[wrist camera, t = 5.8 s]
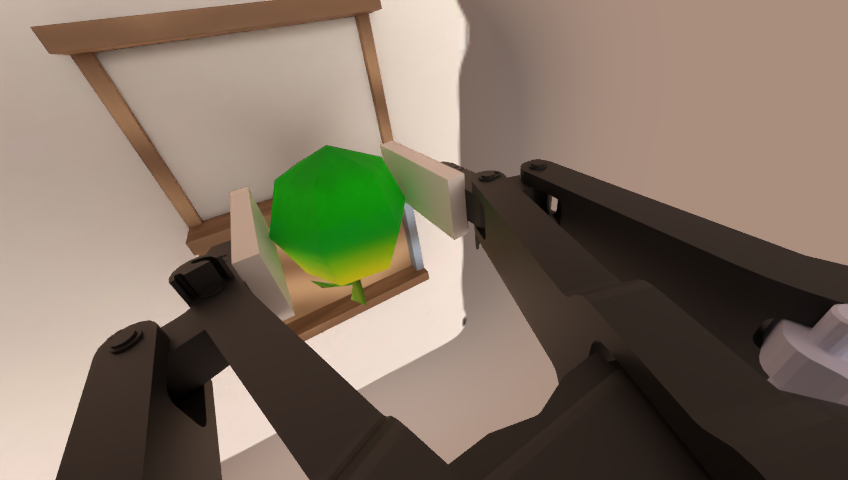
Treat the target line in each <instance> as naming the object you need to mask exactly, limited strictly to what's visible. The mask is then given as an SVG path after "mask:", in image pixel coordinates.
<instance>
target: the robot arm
mask: <svg viewBox="0 0 848 480" xmlns="http://www.w3.org/2000/svg"><path fill="white" fill-rule="evenodd" d="M380 147H381V151H382V156H383V160H384V162H385V164H386V166H387V167H388V169H389V171H390V172H391V174H392V176H393V178H394V179H395V181H396V183H397V184H398V186H399V188H400V190H401V191H402V193H403V195H404V196H405V198H406V200H405V202H406V203H407V204H408V205H410V206H411V207H412V208H414V209H415V210H416V211H418V212H419V213H420V214H421V215H423V216H424V217H425V218H427V219H428V220H429V221H431V222H432V223H433V224H435V225H436V226H437V227H438V228H440V229H441V230H442V231H444V232H445V233H446V234H448V235H449V236H450V237H451V238H453V239H454V240H455V239H457V238H459V237H461V236H464V235H466V234H468V233H469V227H468V221H470V222H471V223H473V224H474V228H475V241H476V249H479V244H480V243H481V245H482V247H483V248H484V250H485V252H486V253H487V255H488V257H489V258H490V260H491V261H492V263H493V265H494V267H495V268H496V270H497V271H498V273H499V275H500V276H501V278H502V280H503V281H504V283H505V285H506V287H507V288H508V290H509V292H510V293H511V295H512V297H513V298H514V300H515V301H516V303H517V305H518V306H519V308H520V310H521V312H522V313H523V315H524V317H525V318H526V320H527V321H528V323H529V325H530V326H531V328H532V330H533V332H534V333H535V335H536V337H537V338H538V340H539V341H540V343H541V345H542V347H543V348H544V350H545V352H546V353H547V355H548V357H549V358H550V360H551V361H552V363H553V365H554V367H555V370H556V373H557V377H558V382H559V385H558V386H557V388H556V389H555V391H554V393H553V394H552V396H551V397H550V399H549V400H548V402H547V404H546V405H545V407H544V408H543V410H542V411H541V412H540V413H539V414H538V415H537V416H535V417H532V418H529V419H527V420H524V421H521V422H519V423H516V424H513V425H511V426H508V427H505V428H503V429H500V430H497V431H495V432H492V433H489V434H488V435H486V436H485V437H484V438H482V439H481V440H480V441H478V442H477V443H476V444H475V445H473V446H472V447H471V448H469V449H468V450H467V451H466V452H464V453H463V454H462V455H460V456H459V457H458V458H456V459H455V460H454V461H453V462H451V463H450V464H447V463H446V462H445V461H444V460H442V459H441V458H440V457H439V456H438V455H437V454H436V453H435V452H434V451H432V450H431V449H430V448H429V447H428V446H427V445H426V444H425V443H424V442H423V441H421V440H420V439H419V438H418V437H417V436H416V435H415V434H414V433H413V432H412V431H410V430H409V429H408V428H407V427H406V426H405V425H403V424H402V423H401V422H400V421H399V420H397V419H396V418H394V417H392V416H388V417H386V416H384V415H383V414H382V413H380V412H379V411H378V410H377V409H376V408H375V407H374V406H373V405H372V404H370V403H369V402H368V401H367V400H366V399H365V398H364V397H363V396H362V395H361V394H360V393H359V392H358V391H357V390H356V389H354V388H353V387H352V386H351V385H350V384H349V383H348V382H347V381H346V380H345V379H344V378H343V377H342V376H341V375H340V374H338V373H337V372H336V371H335V370H334V369H333V368H332V367H331V366H330V365H329V364H328V363H327V362H326V361H325V360H323V359H322V358H321V357H320V356H319V355H318V354H317V353H316V352H315V351H314V350H313V349H312V348H311V347H310V346H309V345H307V344H306V343H305V342H304V341H303V340H302V339H301V338H300V337H299V336H298V335H297V334H296V333H295V332H294V331H292V330H291V329H290V328H289V327H288V326H287V325H286V324H285V323H284V322H283V321H284V320H286V319H288V318H290V317H293V316H295V313H294V309H293V306H292V302H291V299H290V295H289V291H288V288H287V284H286V280H285V277H284V273H283V269H282V266H281V262H280V258H279V255H278V251H277V247H276V244H275V242H274V241H272V240H271V239H270V237H269V231H270V228H269V226H268V224H267V222H266V221H265V219H264V217H263V215H262V213H261V211H260V209H259V207H258V205H257V203H256V202H255V200H254V198H253V196H252V194H251V192H250V190H249V188H248V187H244V188H241V189H238V190H235V191H232V192H230V217H231V240H229V241H226V242H223V243H221V244H218V245H215V246H212V247H211V248H210V250H209V251H208V252H207V254H206V255H203V256H199V257H197V258H195V259H192V260H190V261H188V262H186V263H185V264H183V265H181V266H180V267H179V268H178V269H176V270H175V271H174V272H173V273H172V274H171V276H170V277H169V283H170V284H171V285H172V287H173V288H174V289H175V290H176V291H177V292H178V294H179V295H180V296H181V297H182V298H183V299H184V301H185V302H186V303H187V304H188V305H189V307H190V309H189V310H188V311H186V312H185V313H184V314H182V315H181V316H179V317H178V318H176V319H174V320H173V321H171V322H169V323H168V324H166V325H164V326H163V327H161V328H160V327H159V326H158V325H157V324H156V323H155V322H153V321H150V320H149V321H142V322H138V323H135V324H133V325H130V326H128V327H126V328H124V329H122V330H119V331H118V332H116V333H115V334H114V335H112V336H111V337H109V338H108V339H107V340H106V341H105V342H104V343H103V344H102V345H101V346H100V347H99V348H98V350H97V352H96V353H95V355H94V357H93V360H92V363H91V367H90V370H89V373H88V376H87V380H86V383H85V386H84V389H83V393H82V396H81V399H80V402H79V405H78V409H77V412H76V415H75V418H74V422H73V425H72V428H71V431H70V435H69V438H68V441H67V444H66V447H65V451H64V454H63V457H62V460H61V464H60V467H59V470H58V473H57V477H56V480H222V475H221V465H220V455H219V445H218V435H217V425H216V415H215V406H214V396H213V386H212V381H211V378H213V377H214V376H215V375H217V374H218V373H219V372H221V371H222V370H224V369H225V368H226V367H228V366H229V365H230V366H231V367H232V369H233V370H234V372H235V373H236V375H237V376H238V377H239V379H240V380H241V382H242V383H243V385H244V386H245V388H246V389H247V390H248V392H249V393H250V395H251V396H252V398H253V399H254V401H255V402H256V403H257V405H258V406H259V408H260V409H261V411H262V412H263V413H264V415H265V416H266V418H267V419H268V421H269V422H270V424H271V425H272V426H273V428H274V429H275V431H276V432H277V434H278V435H279V437H280V438H281V439H282V441H283V442H284V444H285V445H286V446H287V448H288V449H289V451H290V452H291V454H292V455H293V456H294V458H295V460H296V461H297V462H298V464H299V465H300V467H301V468H302V470H303V471H304V472H305V474H306V475H307V477H308V478H309V479H310V480H848V266H847V265H842V264H838V263H834V262H830V261H826V260H821V259H817V258H813V257H809V256H805V255H802V254H799V253H797V252H794V251H791V250H789V249H785V248H783V247H781V246H778V245H775V244H772V243H770V242H767V241H764V240H762V239H759V238H756V237H753V236H750V235H748V234H745V233H743V232H740V231H737V230H734V229H732V228H729V227H726V226H724V225H721V224H718V223H715V222H713V221H710V220H707V219H705V218H702V217H699V216H697V215H694V214H691V213H688V212H686V211H683V210H680V209H678V208H675V207H672V206H669V205H667V204H664V203H661V202H658V201H656V200H653V199H650V198H648V197H645V196H642V195H639V194H637V193H634V192H631V191H629V190H626V189H623V188H621V187H618V186H615V185H612V184H610V183H607V182H604V181H602V180H599V179H596V178H594V177H591V176H588V175H585V174H583V173H580V172H577V171H575V170H572V169H569V168H566V167H564V166H561V165H558V164H556V163H553V162H550V161H546V160H540V159H536V160H531V161H528V162H525V163H523V164H522V165H521V169H520V175H518V176H513V177H509V178H507V177H506V176H505V175H504V174H503V173H501V172H499V171H482V172H479V173H474V172H472V171H469V170H467V169H464V168H463V167H459V166H458V165H456V164H453V163H449V162H438V161H436V160H434V159H432V158H429V157H427V156H425V155H423V154H421V153H418V152H416V151H414V150H412V149H410V148H407V147H405V146H403V145H401V144H399V143H396V142H394V141H390V142H387V143H384V144H381V145H380ZM552 196H553V197H555V198H557V199H558V204H557V211H556V212H555V211H552V210H551V202H552Z"/></svg>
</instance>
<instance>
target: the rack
mask: <svg viewBox="0 0 848 480" xmlns="http://www.w3.org/2000/svg"><path fill="white" fill-rule="evenodd" d="M380 9H382V8H381V2H380V0H272V1H263V2H254V3H245V4H236V5H227V6H218V7H208V8H199V9H190V10H181V11H172V12H163V13H154V14H145V15H135V16H126V17H117V18H108V19H99V20H90V21H81V22H72V23H63V24H53V25H44V26H35V27H31V29H32V30H33V32H34V33H35V34H36V36H37V37H38V39H39V40H40V41H41V43H42V44H43V46H44V47H45V48H46V50H47V51H48V52H49V54H62V55H70V56H71V57H72V59H73V60H74V62H75V63H76V64H77V66H78V67H79V69H80V70H81V72H82V73H83V75H84V76H85V78H86V79H87V80H88V82H89V83H90V85H91V86H92V88H93V89H94V91H95V92H96V94H97V95H98V96H99V98H100V99H101V101H102V102H103V104H104V105H105V107H106V108H107V110H108V111H109V112H110V114H111V115H112V117H113V118H114V120H115V121H116V123H117V124H118V126H119V127H120V128H121V130H122V131H123V133H124V134H125V136H126V137H127V139H128V140H129V142H130V143H131V144H132V146H133V147H134V149H135V150H136V152H137V153H138V155H139V156H140V157H141V159H142V160H143V162H144V163H145V165H146V166H147V168H148V169H149V171H150V172H151V173H152V175H153V176H154V178H155V179H156V181H157V182H158V184H159V185H160V187H161V188H162V189H163V191H164V192H165V194H166V195H167V197H168V198H169V200H170V201H171V203H172V204H173V205H174V207H175V208H176V210H177V211H178V213H179V214H180V216H181V217H182V219H183V220H184V221H185V223H186V224H187V226H188V227H189V232H188V236H187V241H186V244H187V246H188V247H189V248H190V250H191V251H192V253H193V254H194V255H197V254H199V255H200V256H203V255H206V254H207V252H208V251H209V250H210V248H211V247H212V246H215V245H218V244H221V243H223V242H226V241H229V240H231V217H230V213H227V214H224V215H221V216H218V217H215V218H212V219H209V220H206V221H202V220H201V218H200V217H199V215H198V214H197V212H196V210H195V209H194V207H193V206H192V204H191V203H190V201H189V200H188V198H187V197H186V195H185V193H184V192H183V190H182V189H181V187H180V186H179V184H178V183H177V181H176V180H175V178H174V176H173V175H172V173H171V172H170V170H169V169H168V167H167V166H166V164H165V163H164V161H163V160H162V158H161V156H160V155H159V153H158V152H157V150H156V149H155V147H154V146H153V144H152V143H151V141H150V139H149V138H148V136H147V135H146V133H145V132H144V130H143V129H142V127H141V126H140V124H139V123H138V121H137V119H136V118H135V116H134V115H133V113H132V112H131V110H130V109H129V107H128V106H127V104H126V102H125V101H124V99H123V98H122V96H121V95H120V93H119V92H118V90H117V89H116V87H115V85H114V84H113V82H112V81H111V79H110V78H109V76H108V75H107V73H106V72H105V70H104V69H103V67H102V65H101V64H100V62H99V61H98V59H97V58H96V56H95V55H94V53H93V52H101V51H108V50H115V49H122V48H129V47H137V46H144V45H151V44H158V43H165V42H172V41H180V40H187V39H194V38H201V37H208V36H216V35H223V34H230V33H237V32H244V31H251V30H259V29H266V28H273V27H280V26H287V25H294V24H302V23H309V22H316V21H323V20H330V19H338V18H345V17H352V16H355V19H356V23H357V28H358V32H359V37H360V42H361V46H362V51H363V55H364V60H365V64H366V69H367V74H368V78H369V83H370V87H371V92H372V97H373V101H374V106H375V110H376V115H377V120H378V124H379V129H380V133H381V138H382V143H383V144H384V143H387V142H390V141H393V136H392V131H391V126H390V121H389V116H388V111H387V106H386V101H385V96H384V91H383V85H382V80H381V75H380V70H379V65H378V60H377V55H376V50H375V45H374V40H373V35H372V30H371V25H370V19H369V13H372V12H374V11H377V10H380ZM272 203H273V199H270V200H267V201H264V202H261V203H258V204H257V205H258V207H259V209H260V211H261V213H262V215H263V217H264V219H265V221H266V222H267V224H268V226H269V228H270V222H271V212H272ZM275 244H276V243H275ZM276 247H277V251H278V255H279V258H280V262H281V266H282V269H283V273H284V277H285V280H286V284H287V288H288V291H289V295H290V299H291V302H292V306H293V309H294V313H295V316H293V317H290V318H288V319H286V320H284V321H283V322H284V323H285V324H286V325H287V326H288V327H289V328H290V329H291V330H292V331H294V332H295V333H296V334H297V335H298V336H299V337H300V338H301V339H302V340H303V341H306V340H308V339H310V338H312V337H314V336H316V335H318V334H320V333H322V332H324V331H326V330H328V329H330V328H332V327H334V326H336V325H338V324H340V323H342V322H344V321H346V320H348V319H350V318H352V317H354V316H356V315H358V314H360V313H362V312H364V311H366V310H368V309H370V308H372V307H374V306H376V305H378V304H380V303H382V302H384V301H386V300H388V299H390V298H392V297H394V296H396V295H398V294H400V293H402V292H404V291H406V290H408V289H410V288H412V287H414V286H416V285H418V284H420V283H422V282H424V281H426V280H428V279H429V275H428V271H427V270H426V269H425V268H424V265H423V260H422V254H421V249H420V243H419V238H418V233H417V227H416V222H415V216H414V211H413V208H412V207H411V206H410V205H408V204H407V203H406V202H405V205H404V211H403V216H402V221H401V226H400V231H399V235H398V238H397V242H396V246H395V250H394V253H393V257H392V261H391V265H390V268H389V269H386V270H384V271H381V272H378V273H376V274H373V275H370V276H368V277H365V278H362V279H360V280H361V284H362V288H363V291H364V295H365V299H366V303H367V306H366V305H364V304H361V303H359V302H356V301H353V300H351V296H352V288H353V285H349V286H340V287H329V288H321V287H320V286H318V285H316V284H315V283H313V282H311V281H317V282H325V283H332V282H329V281H326V280H324V279H321V278H319V277H316V276H313V275H311V274H308V273H306V272H305V271H304V270H303V269H302V268H301V267H300V266H299V265H298V264H297V263H296V262H295V261H294V260H292V259H291V258H290V257H289V256H288V255H287V254H286V253H285V252H284V251H283V250H282V249H281V248H280V247H279V246H278V245H277V244H276ZM333 284H334V283H333Z"/></svg>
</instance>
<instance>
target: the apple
mask: <svg viewBox="0 0 848 480" xmlns="http://www.w3.org/2000/svg"><path fill="white" fill-rule="evenodd" d="M405 200H406V198H405V196H404V195H403V193H402V191H401V190H400V188H399V186H398V184H397V183H396V181H395V179H394V178H393V176H392V174H391V172H390V171H389V169H388V167H387V166H386V164H385V162H384V161H383V159H382V157H379V156H374V155H369V154H365V153H360V152H355V151H351V150H346V149H342V148H337V147H332V146H328V145H326V146H324V147H323V148H321V149H320V150H318V151H316V152H315V153H313V154H312V155H310V156H308V157H307V158H305V159H304V160H302V161H300V162H299V163H297V164H296V165H294V166H293V167H292V168H290V169H289V170H288V171H286V172H285V173H284V174H282V175H281V176H280V177H278V178H277V179H276V180H275V183H274V193H273V203H272V212H271V222H270V231H269V237H270V239H271V240H272V241H274V242H275V243H276V244H277V245H278V246H279V247H280V248H281V249H282V250H283V251H284V252H285V253H286V254H287V255H288V256H289V257H290V258H291V259H292V260H294V261H295V262H296V263H297V264H298V265H299V266H300V267H301V268H302V269H303V270H304V271H305V272H306V273H308V274H311V275H313V276H316V277H319V278H321V279H324V280H326V281H329V282H332V283H325V282H317V281H311V282H313V283H315V284H316V285H318V286H320V287H321V288H329V287H340V286H349V285H353V288H352V296H351V300H353V301H356V302H359V303H361V304H364V305H366V306H367V303H366V299H365V295H364V291H363V288H362V284H361V280H360V279H362V278H365V277H368V276H370V275H373V274H376V273H378V272H381V271H384V270H386V269H389V268H390V265H391V261H392V257H393V253H394V250H395V246H396V242H397V238H398V235H399V231H400V226H401V221H402V216H403V211H404V205H405ZM333 283H334V284H333Z"/></svg>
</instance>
